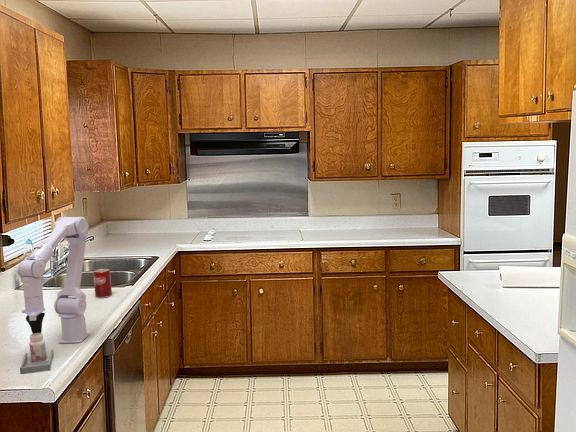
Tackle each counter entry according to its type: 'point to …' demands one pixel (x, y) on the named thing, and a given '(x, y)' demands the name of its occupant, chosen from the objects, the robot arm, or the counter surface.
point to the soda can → (102, 283)
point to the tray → (35, 365)
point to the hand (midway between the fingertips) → (37, 336)
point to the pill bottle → (37, 347)
